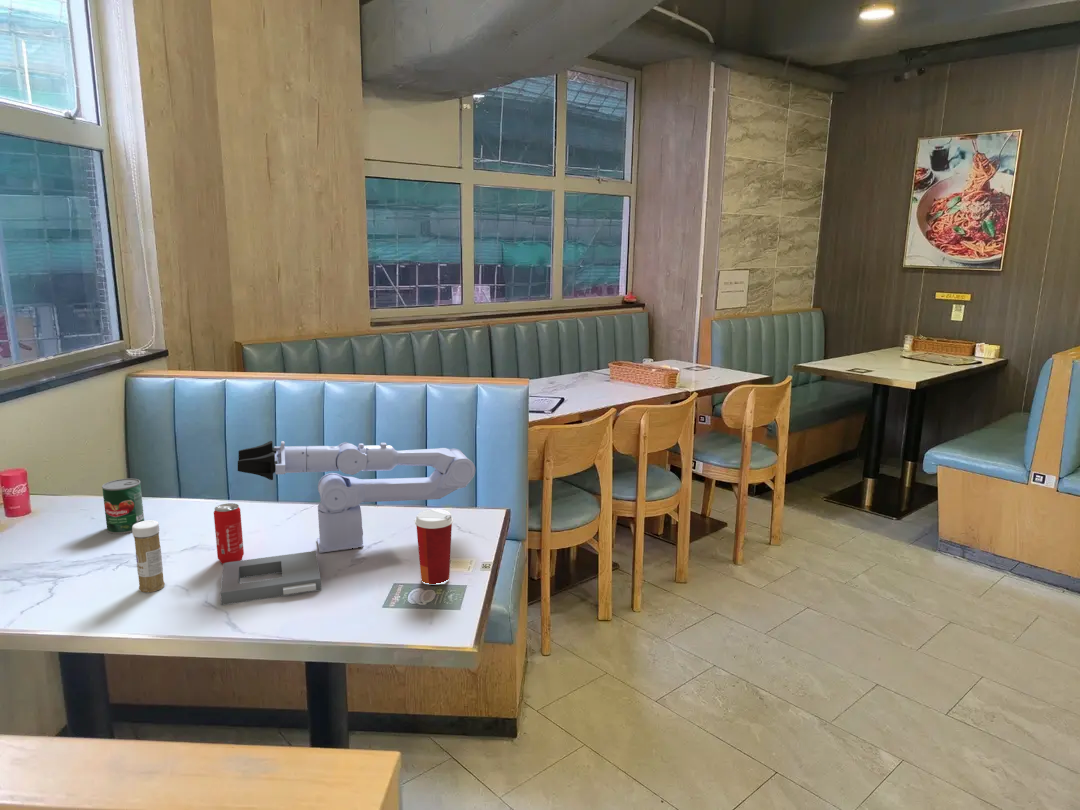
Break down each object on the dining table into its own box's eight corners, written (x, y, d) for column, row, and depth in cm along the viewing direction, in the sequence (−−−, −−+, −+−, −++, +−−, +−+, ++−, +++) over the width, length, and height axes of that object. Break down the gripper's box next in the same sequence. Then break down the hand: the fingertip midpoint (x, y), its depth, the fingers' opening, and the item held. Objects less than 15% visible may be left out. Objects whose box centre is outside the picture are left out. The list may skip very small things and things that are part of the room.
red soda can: (234, 566, 152) (230, 512, 149) (212, 563, 153) (207, 510, 150) (249, 556, 157) (245, 503, 154) (227, 554, 158) (223, 502, 155)
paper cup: (460, 575, 149) (459, 510, 146) (443, 591, 142) (442, 524, 139) (426, 569, 151) (425, 506, 148) (408, 584, 144) (406, 518, 141)
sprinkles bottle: (135, 588, 142) (127, 524, 139) (159, 580, 145) (152, 517, 142) (145, 595, 139) (137, 530, 136) (169, 587, 142) (162, 523, 139)
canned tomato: (106, 536, 167) (101, 491, 165) (107, 525, 174) (101, 481, 171) (145, 530, 171) (140, 485, 168) (144, 519, 177) (139, 476, 175)
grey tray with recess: (316, 561, 154) (315, 550, 154) (321, 592, 141) (321, 581, 140) (224, 574, 148) (223, 562, 148) (221, 608, 134) (220, 595, 134)
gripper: (304, 433, 163) (239, 433, 158) (308, 450, 150) (237, 451, 145) (303, 463, 164) (238, 464, 159) (307, 483, 151) (237, 485, 146)
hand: (238, 460), depth 152 cm, fingers open, 7 cm apart
